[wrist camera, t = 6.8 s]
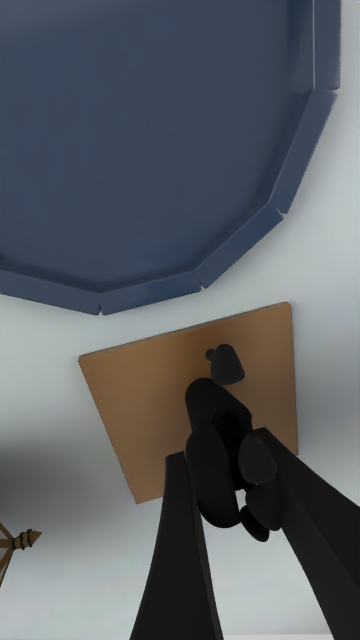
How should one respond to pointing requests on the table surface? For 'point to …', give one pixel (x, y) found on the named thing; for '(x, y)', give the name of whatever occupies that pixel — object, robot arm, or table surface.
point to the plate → (152, 140)
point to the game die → (13, 546)
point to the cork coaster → (173, 380)
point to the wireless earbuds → (229, 453)
